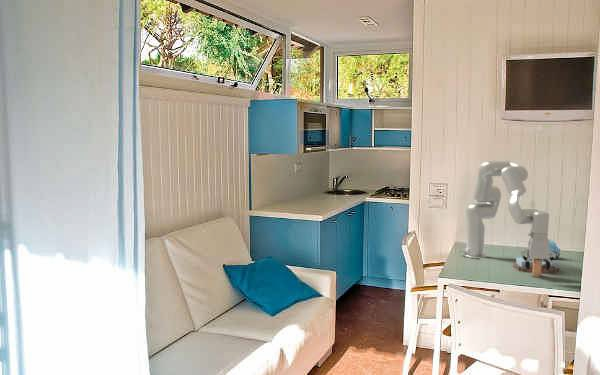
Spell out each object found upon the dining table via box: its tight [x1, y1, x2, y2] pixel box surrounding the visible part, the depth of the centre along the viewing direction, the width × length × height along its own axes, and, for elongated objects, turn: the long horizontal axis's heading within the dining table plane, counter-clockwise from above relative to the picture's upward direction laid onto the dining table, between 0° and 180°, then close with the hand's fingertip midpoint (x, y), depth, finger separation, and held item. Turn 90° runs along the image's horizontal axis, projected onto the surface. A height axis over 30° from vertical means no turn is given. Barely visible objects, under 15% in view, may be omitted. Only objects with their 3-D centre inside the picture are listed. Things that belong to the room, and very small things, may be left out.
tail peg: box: [531, 259, 542, 278], centre depth 272 cm, size 4×4×10 cm
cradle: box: [512, 262, 562, 275], centre depth 284 cm, size 21×13×4 cm, turn 86°
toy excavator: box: [529, 228, 561, 261], centre depth 317 cm, size 9×17×17 cm, turn 51°
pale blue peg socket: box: [515, 257, 558, 271], centre depth 283 cm, size 18×14×7 cm
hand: (537, 269), depth 271 cm, fingers open, 9 cm apart
